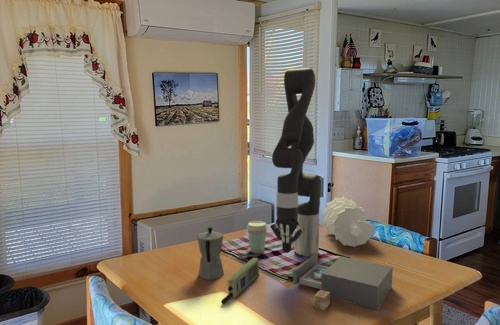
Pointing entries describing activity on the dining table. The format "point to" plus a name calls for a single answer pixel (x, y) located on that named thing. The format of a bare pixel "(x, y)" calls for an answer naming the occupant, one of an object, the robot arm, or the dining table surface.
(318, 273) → the disc
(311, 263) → the tray
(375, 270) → the block
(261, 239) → the coffee cup
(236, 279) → the handheld radio
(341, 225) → the spiral staircase
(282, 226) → the robot arm
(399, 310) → the dining table surface
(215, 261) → the coffeepot
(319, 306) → the pedestal
